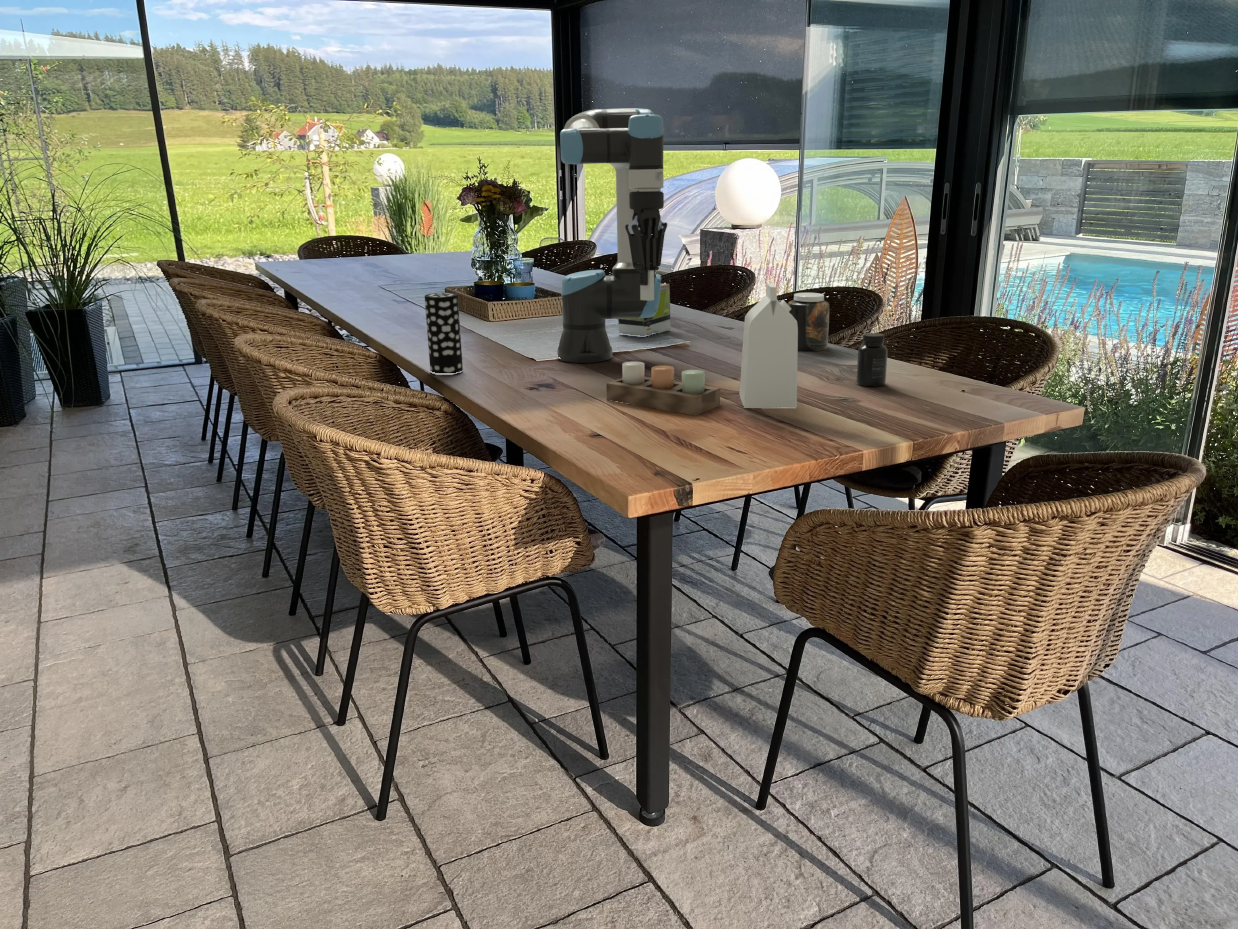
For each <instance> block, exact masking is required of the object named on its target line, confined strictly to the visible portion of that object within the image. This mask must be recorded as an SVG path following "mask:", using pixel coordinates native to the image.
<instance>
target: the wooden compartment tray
mask: <svg viewBox="0 0 1238 929" xmlns="http://www.w3.org/2000/svg"><path fill="white" fill-rule="evenodd" d="M605 388H606V401H609V400H612V401H611V402H614V401H618V402H617V403H620V402H623V403H622V404H626V403H628V404H627V405H632V404H634V405H633V406H638V405H640V406H639V407H643V406H645V408H649V407H650V408H651V409H655V408H656V409H655V410H661V409H662V411H667V412H672V411H673V412H675V413H678V414H684V413H685V414H686V415H689V416H698V415H701V414H704V413H706V412H708V411H711V410H713V409H715V408H717V407H720V406H721V387H716V386H709V385H705V391H704V392H703V393H701V394H698V395H696V394H689V393H683V392H682V381H678V380H677V381H675V380H674V387H673V388H670V389H667V390H664V389H658V388H652V381H651V377H649V376H644V383H641V384H639V385H632V384H626V383H623V377H621V378H617V379H615V380H612V381H609V382H606V387H605ZM673 412H672V413H673Z"/></svg>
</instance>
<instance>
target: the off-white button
mask: <svg viewBox="0 0 1238 929" xmlns="http://www.w3.org/2000/svg"><path fill="white" fill-rule="evenodd" d="M621 365H622V372H621V373H622V378H623V383H626V384H632V385H639V384H641V383H644V377H645V363H644V362H642V361H626V362H623V363H622V364H621Z"/></svg>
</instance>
